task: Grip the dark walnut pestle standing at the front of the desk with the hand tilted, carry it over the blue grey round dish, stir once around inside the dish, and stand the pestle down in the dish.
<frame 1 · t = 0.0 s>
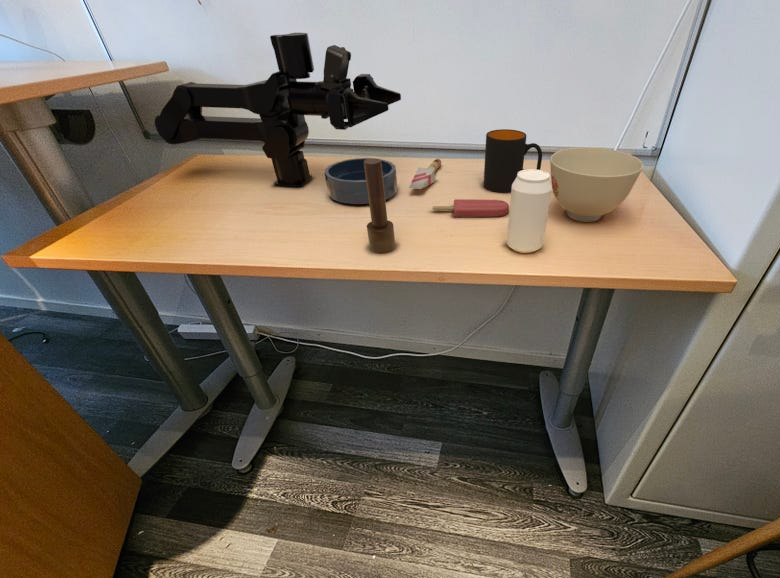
hand: (394, 101, 80), 17 cm above the table, tool horizontal, fingers open, 9 cm apart
beverage can: (523, 248, 71), on the table
blue grey round dish: (363, 193, 89), on the table
paintbrush: (427, 181, 95), on the table
mug: (510, 187, 92), on the table
pestle: (382, 247, 71), on the table
bowl: (583, 216, 81), on the table
popsicle: (470, 212, 82), on the table
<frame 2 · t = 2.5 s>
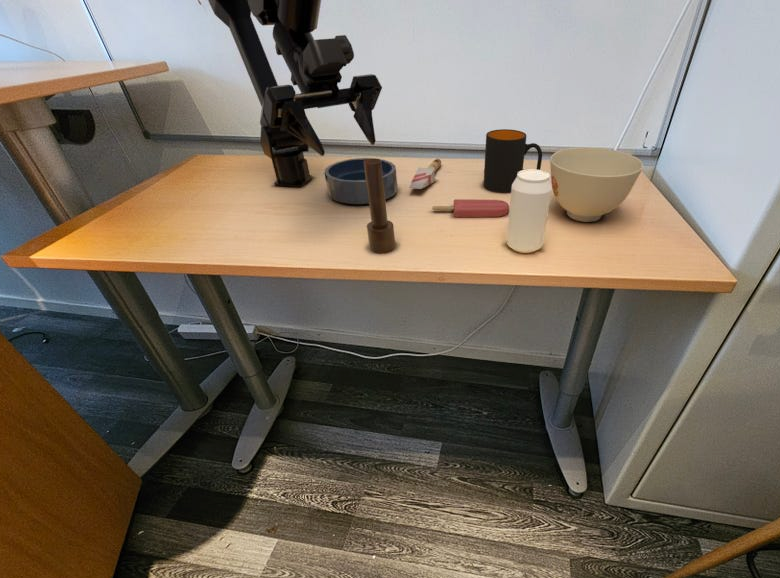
hand: (349, 148, 67), 14 cm above the table, tool tilted 45°, fingers open, 9 cm apart
nothing on the table moved.
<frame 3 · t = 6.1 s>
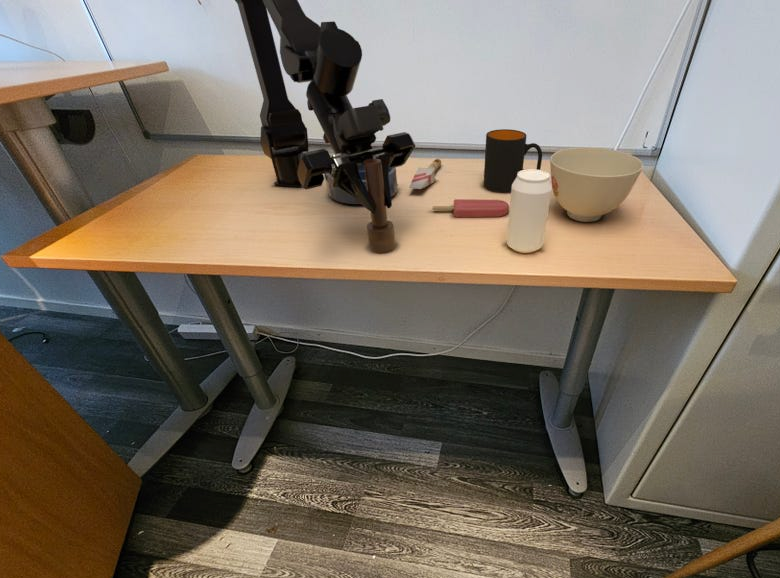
hand: (382, 209, 66), 7 cm above the table, tool tilted 45°, fingers closed on pestle, 2 cm apart
pestle: (382, 247, 71), on the table, touching gripper
everything else where it was.
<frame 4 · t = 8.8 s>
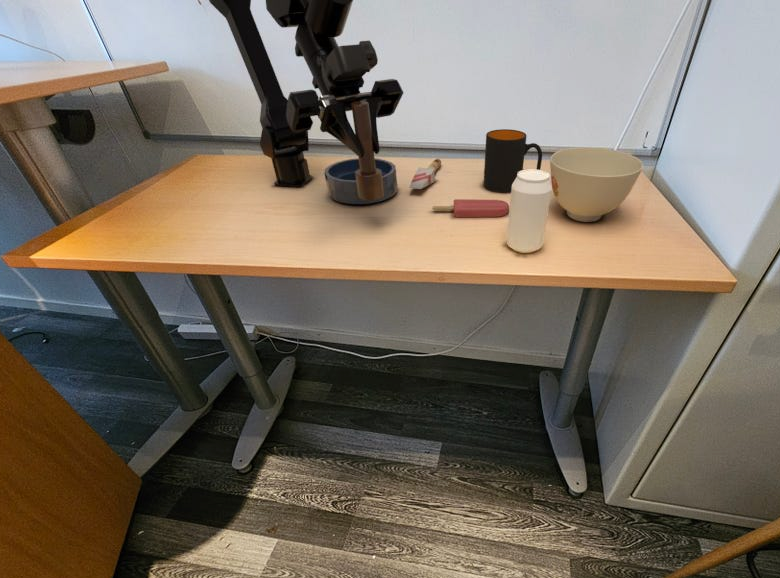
hand: (370, 154, 67), 13 cm above the table, tool tilted 45°, fingers closed on pestle, 2 cm apart
pestle: (371, 195, 72), point 6 cm above the table, touching gripper
everything else where it was.
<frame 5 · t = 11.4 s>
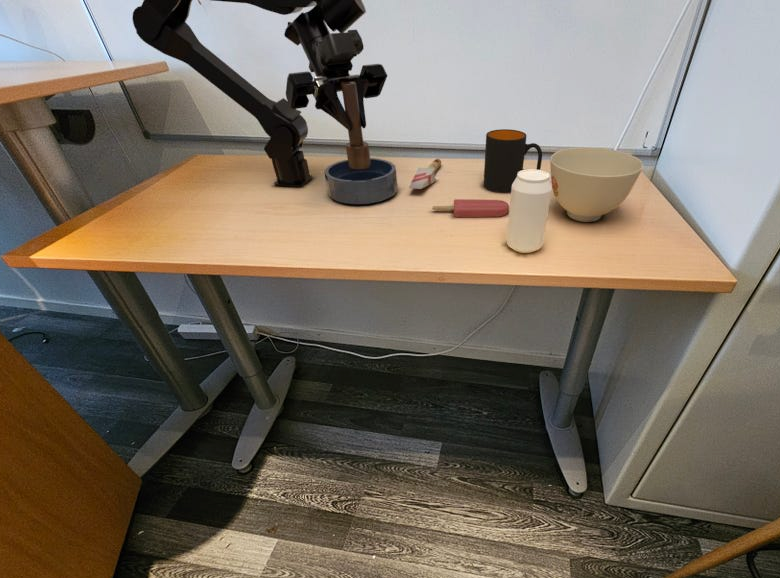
hand: (357, 128, 77), 13 cm above the table, tool tilted 45°, fingers closed on pestle, 2 cm apart
pestle: (359, 166, 83), point 6 cm above the table, touching gripper
everything else where it was.
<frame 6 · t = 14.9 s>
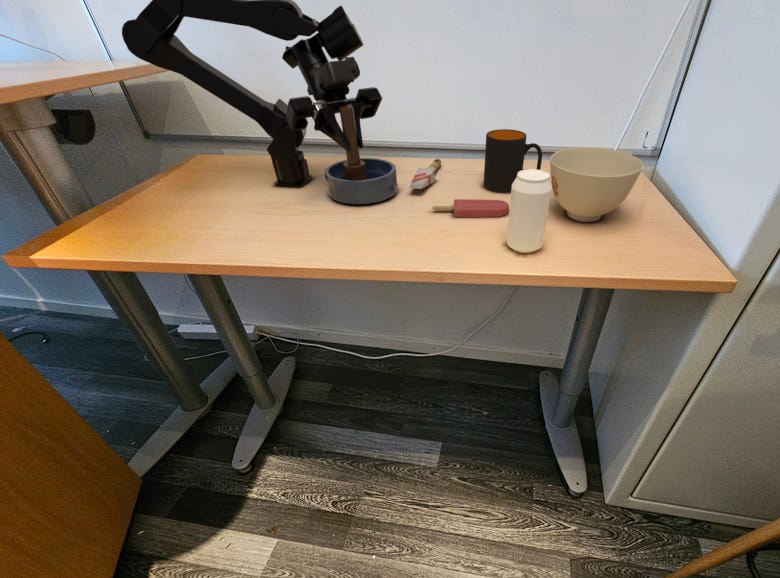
hand: (355, 148, 81), 9 cm above the table, tool tilted 45°, fingers closed on pestle, 2 cm apart
pestle: (356, 183, 87), point 2 cm above the table, touching gripper
everything else where it was.
when the fingers open (8 cm above the table, at t = 17.1 s): pestle stays where it is, resting on blue grey round dish.
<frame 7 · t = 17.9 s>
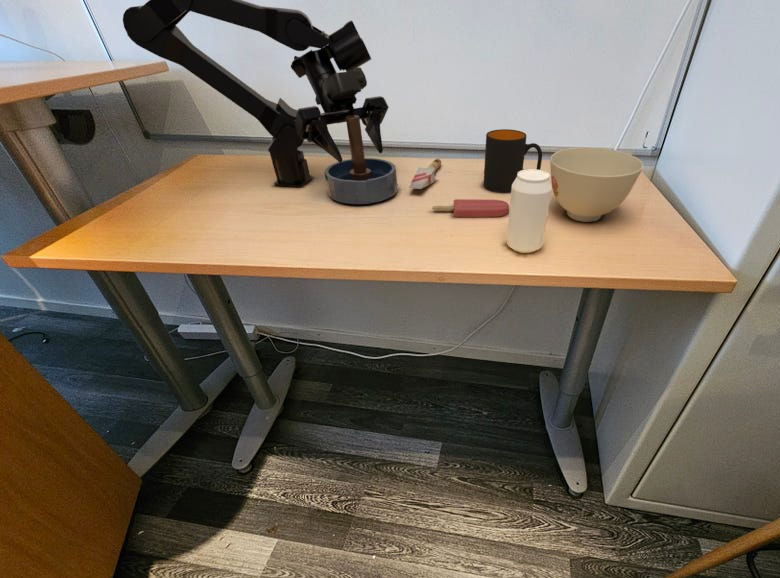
hand: (361, 156, 83), 8 cm above the table, tool tilted 45°, fingers open, 9 cm apart
pestle: (362, 190, 89), point 1 cm above the table, touching blue grey round dish
everything else where it was.
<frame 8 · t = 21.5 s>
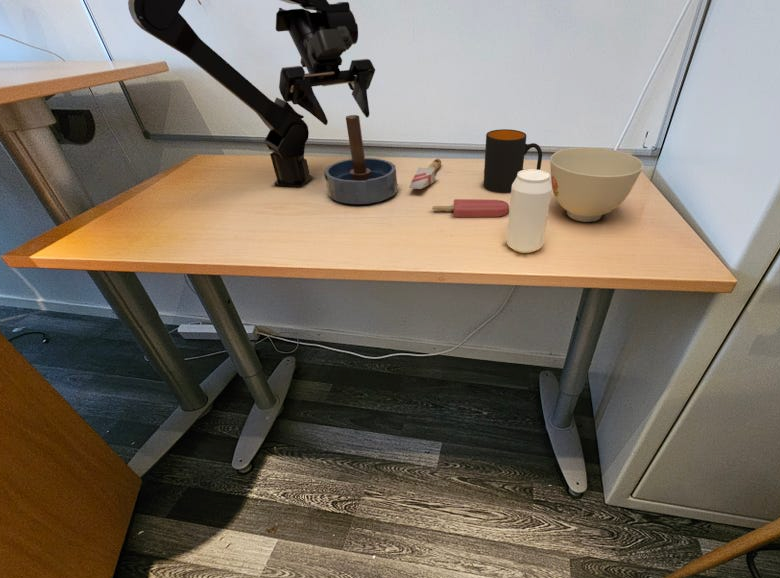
hand: (347, 119, 82), 14 cm above the table, tool tilted 45°, fingers open, 9 cm apart
nothing on the table moved.
at the end: pestle inside the target area in the blue grey round dish (0.1 cm from its centre), point 0.6 cm above the blue grey round dish's base; the gripper is holding nothing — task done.
